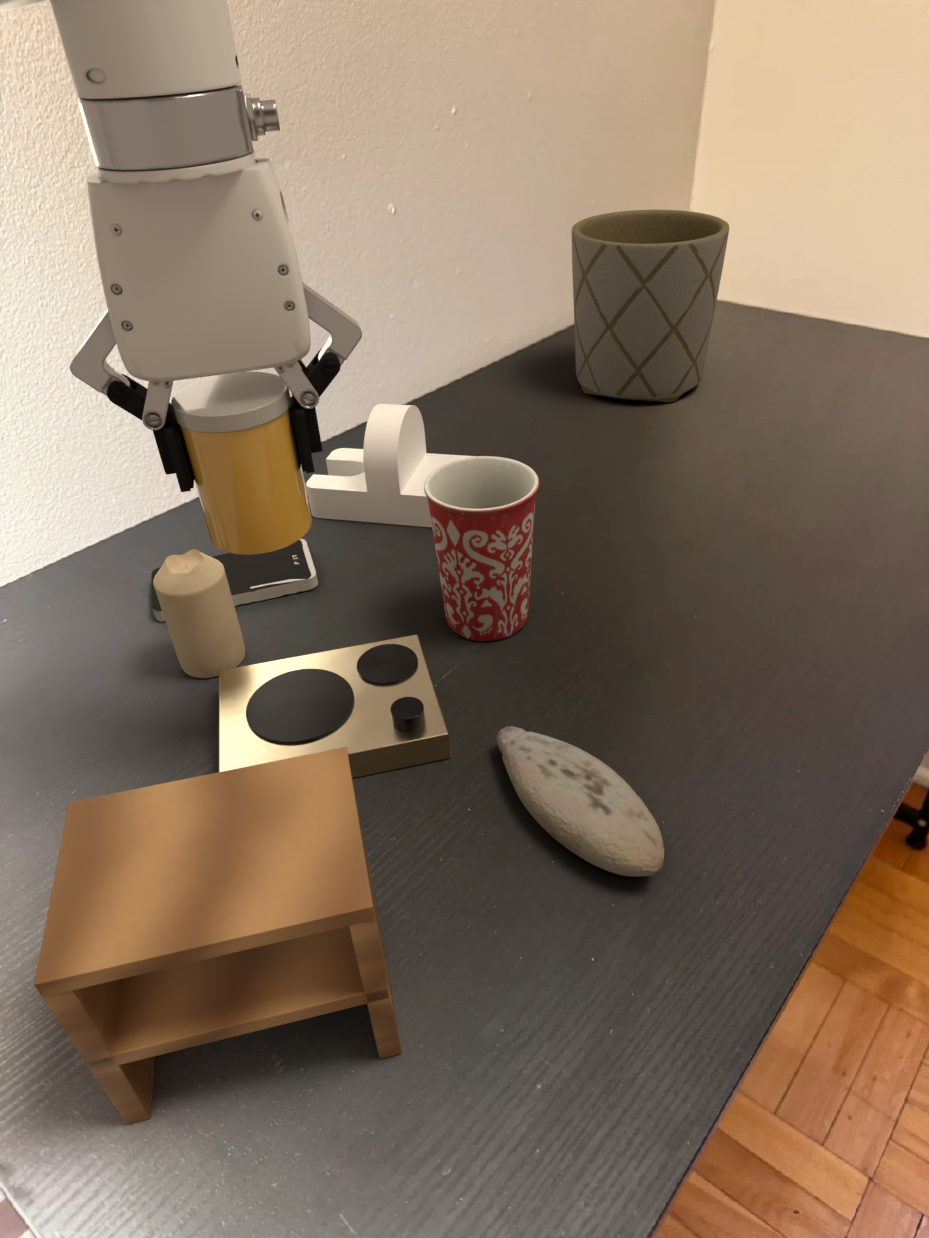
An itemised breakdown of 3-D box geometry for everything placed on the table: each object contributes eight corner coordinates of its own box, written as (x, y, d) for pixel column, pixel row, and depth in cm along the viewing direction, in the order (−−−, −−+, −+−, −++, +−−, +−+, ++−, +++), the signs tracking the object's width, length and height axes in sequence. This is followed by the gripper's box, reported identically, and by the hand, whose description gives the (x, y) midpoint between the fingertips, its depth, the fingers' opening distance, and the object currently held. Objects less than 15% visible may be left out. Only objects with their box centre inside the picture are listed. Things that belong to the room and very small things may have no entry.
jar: (208, 564, 50) (168, 423, 45) (209, 511, 56) (173, 380, 50) (318, 545, 51) (291, 405, 46) (309, 496, 57) (284, 365, 51)
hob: (226, 804, 59) (214, 767, 56) (225, 693, 68) (215, 658, 66) (450, 758, 61) (447, 721, 59) (420, 657, 70) (416, 622, 68)
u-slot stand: (470, 530, 86) (465, 432, 80) (308, 517, 90) (290, 422, 84) (491, 486, 94) (487, 393, 87) (339, 476, 98) (326, 386, 91)
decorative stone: (532, 728, 63) (532, 694, 61) (694, 860, 53) (700, 824, 51) (467, 767, 60) (465, 733, 58) (625, 914, 50) (628, 879, 48)
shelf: (126, 1125, 42) (33, 984, 34) (141, 948, 50) (68, 801, 42) (402, 1053, 44) (373, 906, 36) (374, 895, 52) (346, 746, 44)
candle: (167, 673, 70) (133, 574, 64) (202, 634, 75) (173, 537, 69) (225, 683, 69) (195, 583, 63) (258, 643, 73) (233, 545, 67)
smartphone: (151, 569, 81) (305, 537, 84) (155, 580, 82) (307, 548, 85) (152, 612, 75) (317, 577, 79) (156, 624, 76) (319, 588, 79)
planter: (590, 353, 126) (595, 207, 114) (720, 364, 119) (740, 211, 108) (550, 401, 112) (551, 241, 100) (695, 417, 106) (715, 248, 94)
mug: (508, 661, 69) (504, 519, 61) (416, 631, 73) (401, 493, 65) (573, 584, 78) (577, 450, 70) (487, 560, 82) (482, 431, 74)
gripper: (341, 113, 45) (380, 428, 55) (-3, 143, 42) (107, 467, 53) (360, 129, 39) (398, 478, 50) (-40, 165, 36) (93, 525, 47)
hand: (247, 470), depth 51 cm, fingers closed on jar, 6 cm apart
